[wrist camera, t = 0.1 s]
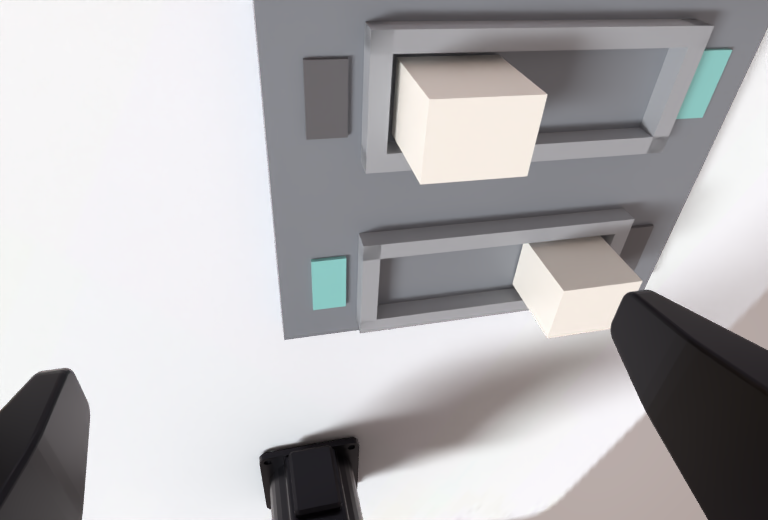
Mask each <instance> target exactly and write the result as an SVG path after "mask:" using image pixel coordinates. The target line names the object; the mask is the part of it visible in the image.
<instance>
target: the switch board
mask: <svg viewBox="0 0 768 520" xmlns="http://www.w3.org/2000/svg"><path fill="white" fill-rule="evenodd" d="M253 9H254V19H255V30H256V41H257V52H258V63H259V74H260V85H261V96H262V107H263V117H264V128H265V139H266V150H267V161H268V172H269V183H270V194H271V205H272V215H273V226H274V237H275V248H276V259H277V270H278V281H279V292H280V303H281V313H282V324H283V332H284V340H287V339H294V338H302V337H309V336H316V335H324V334H331V333H339V332H346V331H353V330H360V333H365V332H372V331H380V330H387V329H394V328H402V327H409V326H416V325H424V324H431V323H438V322H446V321H453V320H460V319H468V318H475V317H482V316H490V315H497V314H504V313H512V312H519V311H526V310H529V309H528V308H527V306H526V304H525V303H524V301H523V300H522V298H521V297H520V295H519V293H518V292H517V290H516V289H515V287H514V286H513V280H514V276H515V273H516V269H517V265H518V261H519V258H520V254H521V250H522V246H523V244H526V243H535V242H545V241H554V240H563V239H573V238H582V237H592V236H601V237H602V238H603V239H604V240H605V241H606V242H607V243H608V244H609V245H610V247H611V248H612V249H613V250H614V251H615V252H616V253H617V254H618V255H619V256H620V257H621V258H622V259H623V260H624V262H625V263H626V264H627V265H628V266H629V267H630V268H631V269H632V270H633V271H634V272H635V273H636V274H637V275H638V277H639V278H640V279H641V280H642V284H641V286H640V288H639V290H644V289H645V287H646V284H647V282H648V280H649V278H650V276H651V274H652V272H653V270H654V267H655V265H656V263H657V261H658V259H659V257H660V255H661V253H662V250H663V248H664V246H665V244H666V242H667V240H668V238H669V236H670V234H671V231H672V229H673V227H674V225H675V223H676V221H677V219H678V217H679V214H680V212H681V210H682V208H683V206H684V204H685V202H686V200H687V198H688V195H689V193H690V191H691V189H692V187H693V185H694V183H695V181H696V178H697V176H698V174H699V172H700V170H701V168H702V166H703V164H704V161H705V159H706V157H707V155H708V153H709V151H710V149H711V147H712V145H713V142H714V140H715V138H716V136H717V134H718V132H719V130H720V128H721V125H722V123H723V121H724V119H725V117H726V115H727V113H728V111H729V109H730V106H731V104H732V102H733V100H734V98H735V96H736V94H737V92H738V89H739V87H740V85H741V83H742V81H743V79H744V77H745V75H746V72H747V70H748V68H749V66H750V64H751V62H752V60H753V58H754V56H755V53H756V51H757V49H758V47H759V45H760V43H761V41H762V39H763V36H764V34H765V32H766V30H767V28H768V0H253ZM465 55H500V56H501V57H502V58H503V59H505V60H506V61H507V62H508V63H509V64H511V65H512V66H513V67H514V68H516V69H517V70H518V71H519V72H521V73H522V74H523V75H524V76H525V77H527V78H528V79H529V80H530V81H532V82H533V83H534V84H535V85H536V86H538V87H539V88H540V89H541V90H543V91H544V92H545V93H546V94H548V95H547V99H546V103H545V107H544V111H543V115H542V119H541V123H540V127H539V131H538V135H537V139H536V143H535V147H534V151H533V155H532V159H531V163H530V167H529V171H528V175H527V176H525V177H512V178H499V179H486V180H473V181H460V182H447V183H434V184H421V185H420V183H419V181H418V180H417V178H416V176H415V174H414V172H413V171H412V169H411V167H410V165H409V164H408V162H407V160H406V158H405V156H404V155H403V153H402V151H401V149H400V148H399V146H398V144H397V142H396V141H395V139H394V137H393V135H392V123H393V108H394V92H395V77H396V62H397V57H422V56H465ZM639 290H638V291H639Z"/></svg>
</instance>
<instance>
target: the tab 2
mask: <svg viewBox="0 0 768 520" xmlns="http://www.w3.org/2000/svg"><path fill="white" fill-rule="evenodd" d="M641 284H642V280H641V279H640V278H639V277H638V275H637V274H636V273H635V272H634V271H633V270H632V269H631V268H630V267H629V266H628V265H627V264H626V263H625V262H624V260H623V259H622V258H621V257H620V256H619V255H618V254H617V253H616V252H615V251H614V250H613V249H612V248H611V247H610V245H609V244H608V243H607V242H606V241H605V240H604V239H603V238H602V237H601V236H592V237H582V238H573V239H563V240H554V241H545V242H535V243H526V244H523V246H522V250H521V254H520V258H519V261H518V265H517V269H516V273H515V276H514V280H513V286H514V287H515V289H516V290H517V292H518V293H519V295H520V297H521V298H522V300H523V301H524V303H525V304H526V306H527V308H528V309H529V311H530V312H531V314H532V315H533V317H534V318H535V320H536V322H537V323H538V325H539V326H540V328H541V329H542V331H543V332H544V334H545V336H546V337H547V338H554V337H561V336H567V335H574V334H581V333H587V332H594V331H601V330H607V329H610V328H611V323H612V320H613V318H614V316H615V314H616V311H617V309H618V307H619V305H620V302H621V300H622V298H623V296H624V295H625V294H626V293H628V292H632V291H638V290H639V288H640V286H641Z"/></svg>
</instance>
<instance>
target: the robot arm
mask: <svg viewBox="0 0 768 520" xmlns="http://www.w3.org/2000/svg"><path fill="white" fill-rule="evenodd" d="M610 329H611V336H612V339H613V341H614V343H615V346H616V348H617V350H618V352H619V354H620V357H621V359H622V361H623V363H624V365H625V368H626V370H627V372H628V374H629V376H630V379H631V381H632V383H633V385H634V387H635V390H636V392H637V394H638V396H639V398H640V401H641V403H642V405H643V407H644V409H645V411H646V413H647V415H648V416H649V418H650V420H651V422H652V424H653V425H654V427H655V429H656V431H657V432H658V434H659V436H660V437H661V439H662V441H663V443H664V444H665V446H666V448H667V450H668V451H669V453H670V454H671V456H672V458H673V460H674V462H675V463H676V465H677V467H678V469H679V470H680V472H681V474H682V475H683V477H684V479H685V481H686V482H687V484H688V486H689V488H690V489H691V491H692V493H693V494H694V496H695V498H696V499H697V501H698V503H699V505H700V506H701V508H702V510H703V512H704V513H705V515H706V517H707V519H708V520H768V350H766V349H764V348H762V347H760V346H758V345H757V344H755V343H753V342H751V341H749V340H747V339H745V338H743V337H741V336H739V335H737V334H735V333H733V332H731V331H729V330H727V329H725V328H723V327H722V326H720V325H718V324H716V323H714V322H712V321H710V320H708V319H706V318H704V317H702V316H700V315H698V314H696V313H694V312H692V311H690V310H688V309H687V308H685V307H683V306H681V305H679V304H677V303H675V302H673V301H671V300H669V299H667V298H665V297H663V296H661V295H659V294H657V293H655V292H653V291H651V290H639V291H632V292H628V293H626V294H625V295H624V296H623V298H622V300H621V302H620V305H619V307H618V309H617V311H616V314H615V316H614V318H613V320H612V323H611V328H610ZM89 425H90V409H89V404H88V401H87V399H86V397H85V395H84V393H83V391H82V389H81V386H80V384H79V382H78V380H77V378H76V376H75V374H74V372H73V371H72V370H71V369H69V368H61V369H53V370H46V371H41V372H38V373H37V374H35V375H34V376H33V377H32V378H31V379H30V380H29V381H28V382H27V383H26V384H25V385H24V386H23V387H22V388H21V389H20V390H19V391H18V392H17V394H16V395H15V396H14V397H13V398H12V399H11V400H10V401H9V402H8V403H7V404H6V405H5V406H4V407H3V408H2V409H1V410H0V520H82V514H83V504H84V491H85V478H86V465H87V452H88V439H89ZM358 456H359V444H358V440H357V439H356V438H347V439H342V440H336V441H330V442H325V443H319V444H314V445H308V446H302V447H297V448H291V449H286V450H280V451H274V452H269V453H265V454H262V455H261V456H260V458H259V460H260V469H261V475H262V481H263V487H264V493H265V499H266V505H267V508H269V509H271V512H272V520H363V517H362V512H361V507H360V502H359V498H358V493H357V481H358Z"/></svg>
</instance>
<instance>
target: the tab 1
mask: <svg viewBox="0 0 768 520" xmlns="http://www.w3.org/2000/svg"><path fill="white" fill-rule="evenodd" d="M547 95H548V94H546V93H545V92H544V91H543V90H541V89H540V88H539V87H538V86H536V85H535V84H534V83H533V82H532V81H530V80H529V79H528V78H527V77H525V76H524V75H523V74H522V73H521V72H519V71H518V70H517V69H516V68H514V67H513V66H512V65H511V64H509V63H508V62H507V61H506V60H505V59H503V58H502V57H501V56H500V55H465V56H422V57H397V62H396V77H395V92H394V108H393V123H392V135H393V137H394V139H395V141H396V142H397V144H398V146H399V148H400V149H401V151H402V153H403V155H404V156H405V158H406V160H407V162H408V164H409V165H410V167H411V169H412V171H413V172H414V174H415V176H416V178H417V180H418V181H419V183H420V185H421V184H434V183H447V182H460V181H473V180H486V179H499V178H512V177H525V176H527V175H528V171H529V167H530V163H531V159H532V155H533V151H534V147H535V143H536V139H537V135H538V131H539V127H540V123H541V119H542V115H543V111H544V107H545V103H546V99H547Z"/></svg>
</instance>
